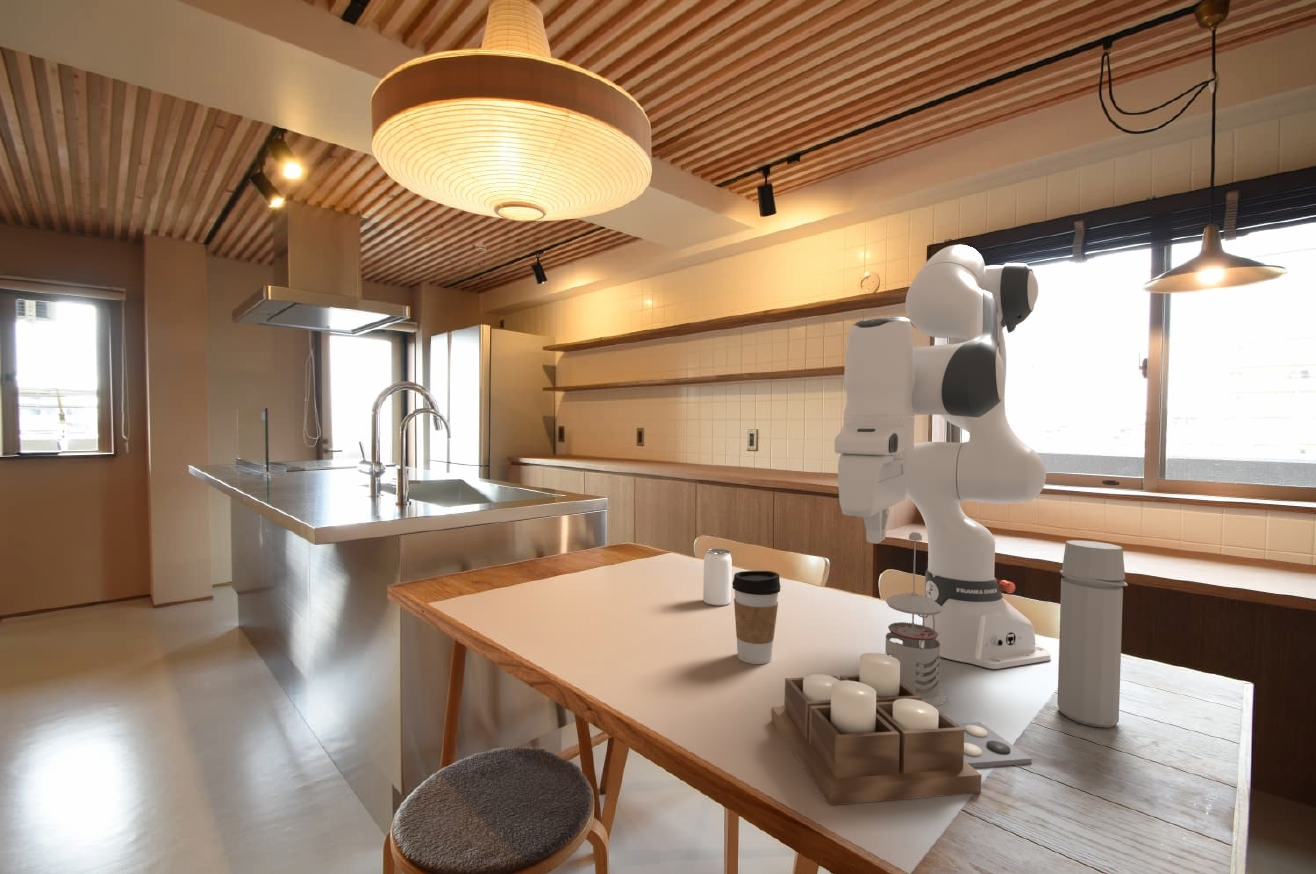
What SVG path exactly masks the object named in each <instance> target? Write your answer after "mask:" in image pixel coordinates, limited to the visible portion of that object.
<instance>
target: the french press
mask: <svg viewBox="0 0 1316 874" xmlns="http://www.w3.org/2000/svg"><path fill="white" fill-rule="evenodd" d="M922 536H923V535H921V533H920V532H913V531H912V532H911V533H909V534H908V539H909V540H910V541H914V542H913V545H914V547H913V548H914V549H913V576H912V577H913V579H912V580H913V582H912V583H913V584H912V592H905V593H899V594H894V595H892V596H889V597H888V598H886V600H885V603H886V604H887V606H888V608H891V609H893V610H895V611H897V612H898V611H899V612H900V613H905V614H910V615H911V622H906V621H905V622H904V621H901V622H900V621H899V622H893V623H891V624H889V625H888V627H887V628H888V630H889V632H887V633H886V635H885V653H884V654H885V655H889V656H892V657H894V658H896V659H897V660H899V661H900V682H902V683H903V684H904V685H905V686H907V687H908V688H909V689H911V690H912V691H913V692H915V693H916V694H917V695H919V696H920V697H921V700H925V701H927V702H928V703H929V704H931V705H932V706H933V707H937V706H940V705H942V704H945V703H946V702H945V701H946V699H947V698H946V696H945V694H944V693H943V691H942V690H941V689H940V666H941V665H940V663H939V662H940V659H941V657H940V655H939V653H940V643H939V642H938V641H937V640H936V637H937V636H938V633H937V632H936V631H935V620H934V615H936V614H939V613H940V612H941V611H942V609H943V608H942V607H941V606H940V605H939V604H938V603H936V602H935V601H933V600H932V599H931V598H928V597H926V595H924V594H918V593H916V591H915V590H916V589H915V587H916V584H915V582H916V556H917V555H916V548H917V547H916V545H917V544H916V543H917V541H919V542H920V541H922V540H923V537H922ZM915 615H917V616H919V618H922V622H923V625H922V623H921V624H919V623H918V624H917V623H915V620H914V619H915ZM924 615H927V616H924ZM929 615H932V618H933V629H932V628H928V627H927V626H926V627H925V626H924V624H925V621H924V618H927V617H928V616H929ZM891 639H896V640H899V641H901V642H902V643H899V642H893V641H892V640H891ZM919 640H921V642H920V645H919ZM922 641H924V649H923V648H921V647H920V646H921V644H922ZM919 664H921V665H923V667H919V666H920V665H919ZM919 673H920V674H923V675H922V676H921V675H919Z"/></svg>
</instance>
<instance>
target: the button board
mask: <svg viewBox="0 0 1316 874" xmlns="http://www.w3.org/2000/svg"><path fill="white" fill-rule="evenodd" d="M859 675H860V674H848V675H847V674H845V675H839V677H838V676H836V675H830V676H831V677H834V678H836V679H838V680H839V681H843V680H848V681H856V682H859ZM804 677H805V676H803V677H786V678H784V703H783V704H784V706H783V705H781V706H771V719H770V720H771V724H772V725H773V726H774V727H775V728H776V730H777V731H778V733H779V735H780V736H781V737H782V739H783V740H784V742H785V743H786V744H787V746H788V747H789V748H790V750H791V751H792V753H793V754H794V755H795V757H796V759H797V760H798V761H799V763H800V765H802V767H803V768H804V770H805V771H806V773H807V774H808V775H809V778H811V780H812V781H813V782H814V783H815V785H816V787H817V788H818V789H819V791H820V792H821V793H822V795H823V796H824V798H825V800H826V801H827V802H828V804H829V805H830V806H838V805H839V806H840V805H852V804H862V803H873V802H886V801H897V800H910V799H921V798H932V797H944V796H955V795H957V796H958V795H967V794H980V793H981V794H982V773H980V772H979V771H977V770H976V769H975V768H973V767H971V766H970V765H969V764H968V763H967V762H965V761H964V760H963V758H964V729H963V728H961V727H960V726H959V725H957V724H956V723H957V722H955V721H954V720H952V719H951V718H950V717H948V716H947V715H945V714H944V713H943V712H942V711H940V710H939V709H937V710H938V712H939V720H938V729H923V730H908V731H907V730H905V729H904V728H903V727H902V726H901V725H900V724H899V723H897V722H896V721H895V720H894V719H893V718H892V717H893V702H894V701H895V700H898V699H914V700H919V701H923V702H925V703H928V702H927V701H925V700H921V697H920V696H919V695H917V694H916V693H915V692H913V691H912V690H911V689H909V688H908V687H907V686H905V685H904V684H903V683H902V682H900V689H899V696H898V697H880V698H876V726H875V733H861V734H845V735H840V734H839V733H838V731H837V730H836V729H835V728H834V727H833V726H832V725H831V724H830V719H831V700H824V701H810V700H809V699H808V698H807V697H806V696H805V695H804V694H803V679H804ZM928 704H929V703H928ZM930 705H931V704H930Z"/></svg>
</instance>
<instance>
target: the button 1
mask: <svg viewBox="0 0 1316 874" xmlns="http://www.w3.org/2000/svg"><path fill="white" fill-rule="evenodd" d="M831 676H832V675H826V674H820V673H818V674H816V673H815V674H814V673H813V674H809V675H805V676H803V677H804V679H803V694H804V695H805V696H806V697H807V698H808V699H809V700H810V701H824V700H831V686H832V684H833V683H834V682H837V681H839V680H838V679H836V678H834V677H831Z"/></svg>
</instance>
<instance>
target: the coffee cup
mask: <svg viewBox="0 0 1316 874" xmlns="http://www.w3.org/2000/svg"><path fill="white" fill-rule="evenodd" d="M781 587H782V586H781V581H780V574H779V573H778V572H775V571H772V570H771V571H770V570H746V571H738V572H736V573H734V575H733V580H732V581H731V588H732V589H733V590H734V599H733V602H734V603H733V605H734V607H733V608H734V619H735V632H736V635H735V636H736V644H737V645H736V647H737V648H736V649H737V650H736V651H737V658H738V659H739V661H742V662H744V663H746V664H750V665H764V664H769V663H770V662H771V661H772V657H773V656H772V655H773V646H774V638H775V632H776V631H775V630H776V623H777V615H778V607H779V602H778V595H779V593H780V592H781Z"/></svg>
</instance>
